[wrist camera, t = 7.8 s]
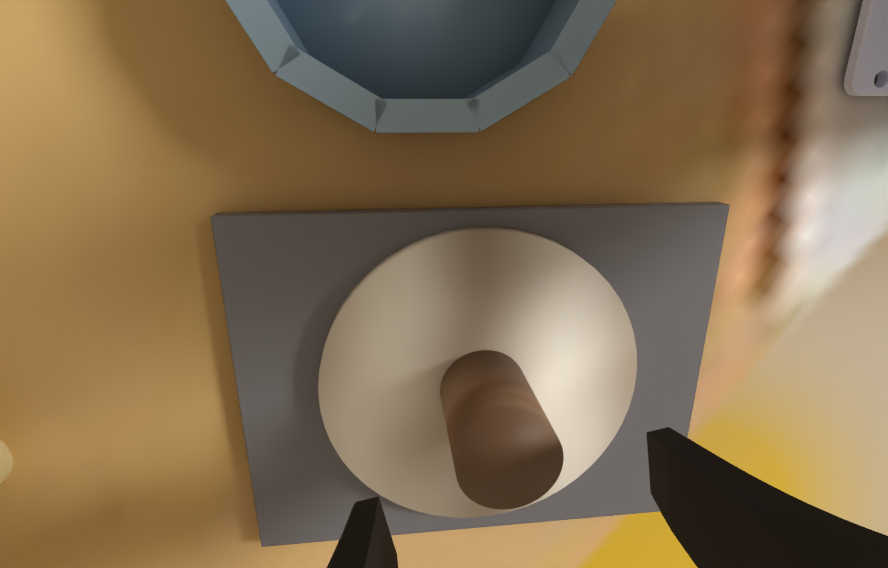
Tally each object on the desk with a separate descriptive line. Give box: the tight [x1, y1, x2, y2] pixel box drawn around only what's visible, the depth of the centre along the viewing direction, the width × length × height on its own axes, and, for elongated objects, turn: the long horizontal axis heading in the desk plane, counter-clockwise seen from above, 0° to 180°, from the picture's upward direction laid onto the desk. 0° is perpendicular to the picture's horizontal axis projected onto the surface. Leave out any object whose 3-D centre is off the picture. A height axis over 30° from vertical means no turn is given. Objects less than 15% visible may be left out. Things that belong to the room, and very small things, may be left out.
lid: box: [318, 226, 637, 518], centre depth 16 cm, size 11×11×5 cm
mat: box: [211, 202, 730, 547], centre depth 18 cm, size 17×13×1 cm
